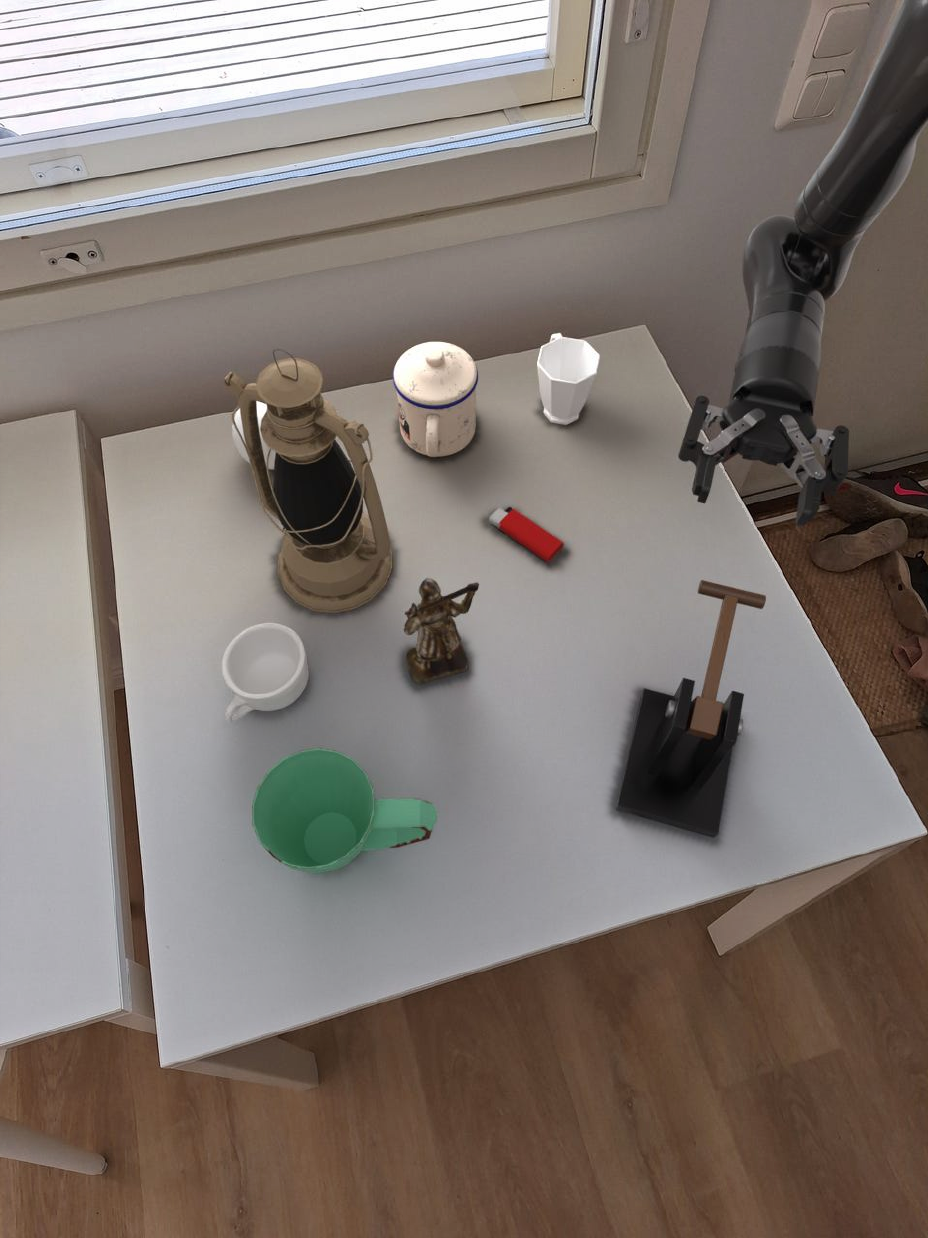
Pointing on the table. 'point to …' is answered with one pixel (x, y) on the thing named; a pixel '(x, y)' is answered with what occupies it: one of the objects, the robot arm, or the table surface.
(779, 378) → the robot arm
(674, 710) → the bracket
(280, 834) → the mug
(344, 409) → the table surface
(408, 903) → the table surface
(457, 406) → the teacup with lid
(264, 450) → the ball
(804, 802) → the table surface
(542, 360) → the cup
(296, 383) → the lantern
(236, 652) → the teacup
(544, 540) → the lighter
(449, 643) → the figurine
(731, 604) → the lever
